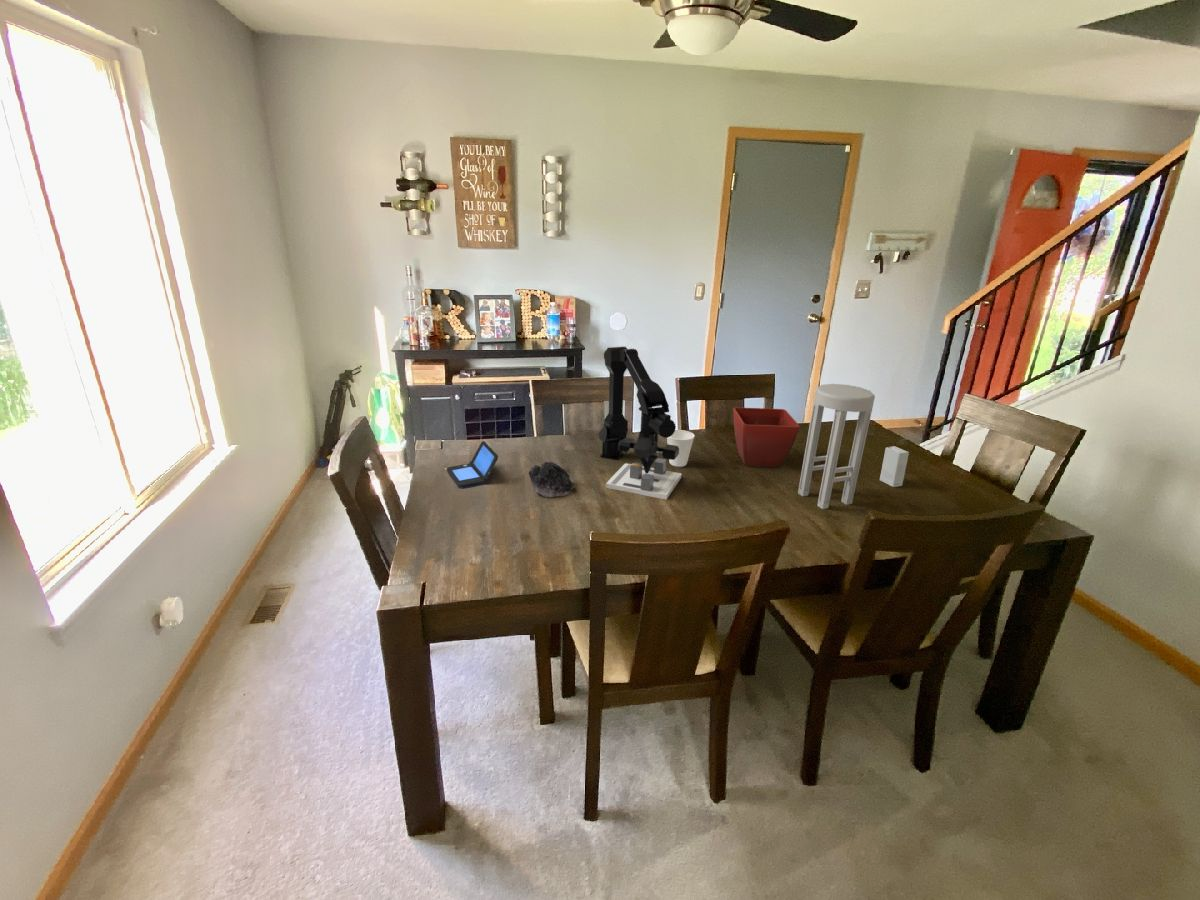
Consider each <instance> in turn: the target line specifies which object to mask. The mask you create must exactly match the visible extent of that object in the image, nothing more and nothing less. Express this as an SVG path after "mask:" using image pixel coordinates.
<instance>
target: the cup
mask: <svg viewBox="0 0 1200 900" xmlns="http://www.w3.org/2000/svg"><path fill="white" fill-rule="evenodd" d="M695 437H696V436H695V434H694V433H693V432H691V431H688V430H682V429H675V432H674V433H673V435H672V436H670V437H668V438H666V439H667V440H666V443H667V444H668V445H675V446H678V448H679V454H678V456H677V457H676V458H675V459H674V460H671V459H668V461H669V464H670V465H671V466H673V467H677V468H682V467H685V466H687V465H688V461H689V457H690V453H691V449H692V446H693V443H694V439H695Z"/></svg>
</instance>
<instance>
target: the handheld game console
mask: <svg viewBox="0 0 1200 900" xmlns="http://www.w3.org/2000/svg"><path fill="white" fill-rule="evenodd" d="M498 458H499V456H498V454H497V453H496V452H495V451H494V450H493V449H492V447H491V446H489V444H488V443H487V442H486V441H485V440H482V441H481V442H480V444H479V446H478V448H477V449H476V452H475V453H474V455H473V457H472V459H471V460H470V461H469V463H464V464H463V463H462V464H459V465H453V466H448V467H447V468H446V471H447V473H448V475H449V476H450V478H451V480H453V482H454V483H455V485H456V487H457V488H459V489H463V488H465V489H466V488H470V487H475V486H481V485H484V484H485V485H486V484H488V478H489V476H490V474H491V473H492V470H493V469H494V467H495V465H496V464H497V461H498Z"/></svg>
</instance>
